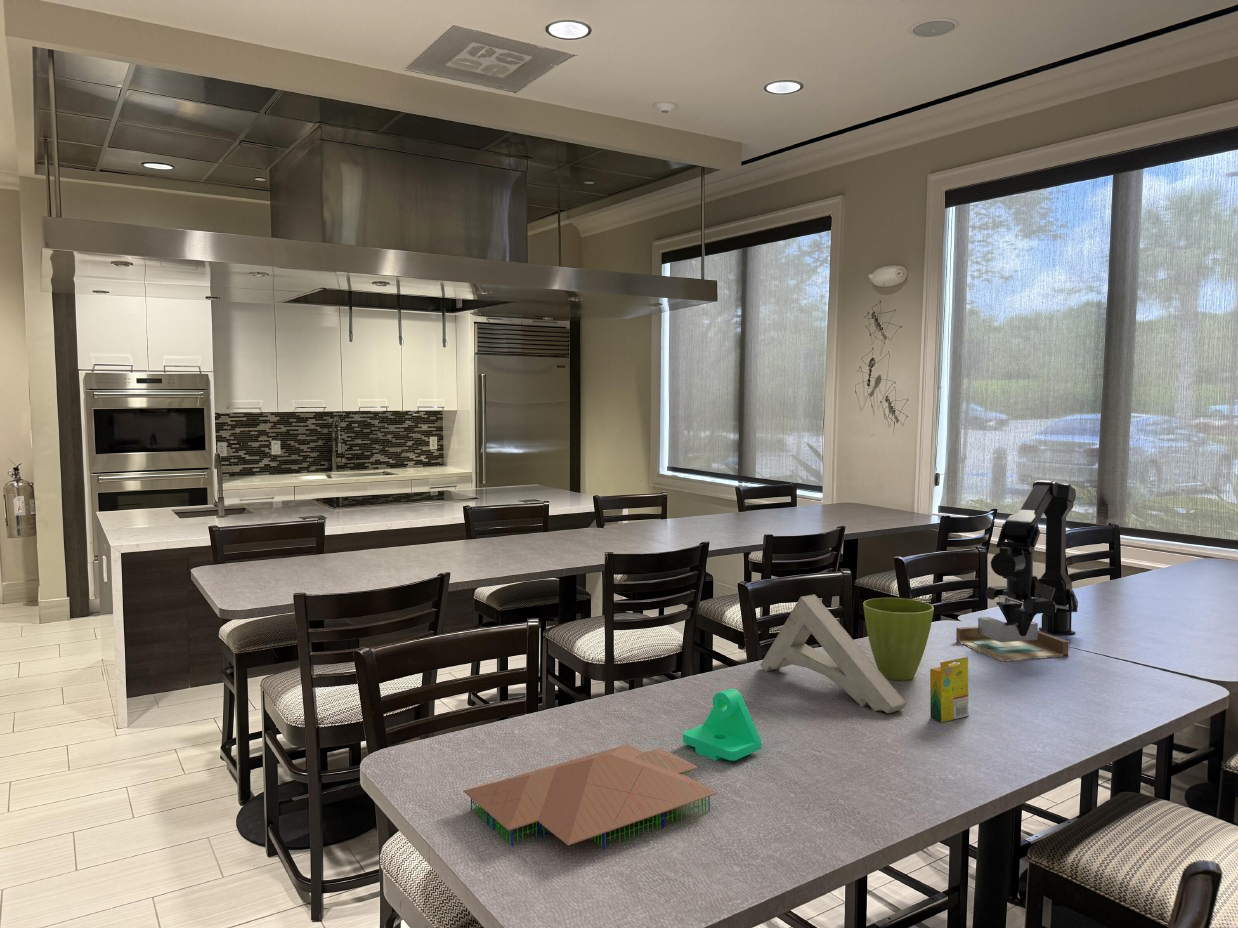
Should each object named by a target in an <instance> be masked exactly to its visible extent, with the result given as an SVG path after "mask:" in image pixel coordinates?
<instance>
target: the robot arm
mask: <svg viewBox="0 0 1238 928" xmlns="http://www.w3.org/2000/svg"><path fill="white" fill-rule="evenodd" d="M1076 498H1077V491H1076V488H1075V487H1072V485H1071V483H1059V482H1057V481H1053V480H1045V479H1044V480H1043V479H1042V480H1041V479H1039V480H1036V481H1033V483H1032V489H1031V490H1030V493H1029V494H1028V496H1027V498H1026V499H1025V501H1024V503H1023V504H1022V506H1021V507H1020V509H1019V511H1017V512H1015V513H1012V514H1011V515H1009V516H1008V518H1006V520H1005V522H1003V524H1002V525H1001V529H1000V532H999V536H998V539H997V543H996V545H995V546H996V548H997V549H998V548H999V552H998V553H995V554H994V555H993V557H992V558H991V561H990V568H991V570H992V571H993V573H995V574H996V575H997V576H999V577H1002V579H1006V586H1005V585H998V586H997V585H996V586H988V587H987V588H986V589H985V596H984V597H985V598H986V599H988V600H991V601H993V600H994V601H995V599H996V598H998V601H996V603H995V604H996V605H997V606H998V608H999V610H1000V612H1001V613H1002V615H1003V616H1004V619H1005V621H1006V622H1018V627H1019V631H1020V634H1021V636H1026V634H1027V632H1028V629H1029V627H1030V624H1031V622H1033V620H1034V619H1035V617H1036V615H1038V614H1041V627H1038V631H1041V632H1044V633H1047V634H1049V635H1052V636H1063V635H1075V634H1076V633H1077V632H1076V631H1073V630H1072V614H1073V613H1077V612H1078V608H1079V602H1078V598H1077V595H1076V594H1075V591H1074V589H1073V582H1072V580H1071V578H1070V576H1069V575H1068V574H1067V572H1066V554H1067V553H1066V550H1067V548H1066V546H1067V545H1066V544H1067V541H1066V540H1067V516H1068V515H1069V514H1070V513H1071V511H1072V510H1073V508H1074V505H1075V504H1074V503H1075V501H1076ZM1043 515H1044V516H1045V558H1044V559H1045V563H1044V566H1045V567H1044V572H1043V574H1042V575H1041V577H1040V578H1038V576H1037V575H1034V551H1035V550H1036V549H1035V547H1036V545H1037V544H1038V540H1039V538H1040V536H1041V530H1040V527H1039V521H1040V519H1041V518H1042V516H1043Z"/></svg>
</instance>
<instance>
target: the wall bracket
mask: <svg viewBox="0 0 1238 928" xmlns="http://www.w3.org/2000/svg"><path fill="white" fill-rule="evenodd" d="M794 605H795V606H793V609H792V611H791V613H790V614H789V616H788V617H787V618H786V621H784V624H783V626H782V627H781V629H780V630H779V632H778V634H777V635H776V637H775V639H774V641H773V642H772V644H771V645H770V648H769V649H768V651H767V652H766V654H765V655H764V658H763V659H762V660H761V663H760V664H759V665H760V667H761V668H762V669H763V671H764V672H770V671H775V670H778V669H781V668H785V667H789V666H792V665H793V666H799V667H802V668H806V669H809V670H811V671H814V672H816V673H817V674H821V675H824V677H826V678H828V679H829V680H830V681H833V682H834V683H835V684H836V685H838V686H839V687H841V689H843V690H844V691H845V692H846V693H847V694H848V695H849V696H850V697H851V698H852V699H853V700H855V702H856V703H857V704H858V705H859V706H861V707H866V706H869V707H870V708H871V709H872V710H873V712H878V711H883V712H885V713H886V714H890V713H894V712H898V711H900V710H904V708H905V707H906V705H908V704H907V702H906V701H905V699H904V698H903V697H902V695H900V694H899V692H898V691H897V690H896V689H895V688H894V686H893V685H892V684H891V682H889V680H888V678H885V677H884V676H883V675H882V673H881V672H880V671H879V670H878V668H877V665H876V664H874V662H872V660H871V659H870V658H869V657H868V655H867V654H866V653H865V652H864V651H863V650H862V648H861V647H860V646H859V645H858V644H857V642H856V641H855V640H854V639H853V638H852V637H851V635H850V634H849V633H848V632H847V630H846V629H845V628H844V627H843V626H842V625H841V624H840V622H839V621H838V620H837V619H836V618H835V616H834V615H833V614H832V613H831V612H830V610H829V609H828V608H827V607H826V606H825V605H824V604H823V602H822V600H820V598H819V597H818V596H817V595H816V594H809V595H804V596H803V595H802V596H800V597H799V599H798V600H797V602H796V603H795V604H794ZM810 635H812V636H813V637H814V638H815V639H816V641H817V642H818V643H819V645H820V646H821V647H822V649H823V650H824V651H825V652H826V653H824V652H821V651H820V650H817V649H816V648H814V647H811V646H810V645H808V644H806V642H807V640H808V639H809V637H810Z"/></svg>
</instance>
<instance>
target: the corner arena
mask: <svg viewBox="0 0 1238 928" xmlns="http://www.w3.org/2000/svg"><path fill="white" fill-rule="evenodd" d="M955 634H956V635H955V641H957V642H956V643H958V642H959V644H961V643H962V644H961V645H963V644H964V645H963V646H965V645H967V646H969V647H968V648H970V647H971V648H970V649H972V648H974V649H975V650H974V649H973V650H974V651H977V650H978V651H977V652H979V651H980V652H979V653H981V652H982V653H981V654H983V653H984V655H986V656H988V655H989V656H988V657H990V656H991V658H992V657H994V658H993V659H995V658H996V659H995V660H997V661H999V660H1001V661H1000V662H1008V661H1007V660H1014V661H1022V659H1027V660H1033V659H1032V658H1040V659H1048V658H1047V657H1053V658H1061V657H1069V652H1070V651H1069V649H1070V648H1069V647H1070V646H1069V645H1070V643H1069V640H1067V639H1066V640H1065V639H1064V638H1060V637H1057V636H1056V635H1053V634H1050V633H1047V632H1044V631H1041V630H1038V640H1027V641H1014V642H999V641H996V640H994V639H991V638H989V637H986V636H984V635H981V634H979V633H978V625H976V626H962V627H956V630H955ZM967 646H966V647H967ZM1045 657H1046V658H1045Z"/></svg>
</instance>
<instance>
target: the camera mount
mask: <svg viewBox="0 0 1238 928" xmlns="http://www.w3.org/2000/svg"><path fill="white" fill-rule="evenodd" d="M712 706H713V707H712V709H710V712H709V714H707V717H706V718H705V721H704V722H703V724H701V725H698V726H696V727H693V728H690V729H688V730H685V731H683V732H682V743H683V744H685V745H688V746H691V747H694V748H695V749H694V750H695V751H694V752H695V754H697V755H701V756H704V757H706V758H708V759H711V760H713V761H718V760H720V759H725V760H728V761H737V760H740V759H742V758H745V757H746V756H748V755H751V754H753V753H756V752H758V751H760V750H761V749H762V739H761V737H760V734H759V732H758V729H757V727H756V726H755V725H756V724H755V723H754V721H753V718H752V716H751V714H750V710H749V709H748V707H747V705H746V702H745V699H744V698H743V695H742V694H741V692H740V691H739V690H737V689H736V688H729V689H725V690H722V691H719V692H717V693H715V694H714V695H713V698H712Z"/></svg>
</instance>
